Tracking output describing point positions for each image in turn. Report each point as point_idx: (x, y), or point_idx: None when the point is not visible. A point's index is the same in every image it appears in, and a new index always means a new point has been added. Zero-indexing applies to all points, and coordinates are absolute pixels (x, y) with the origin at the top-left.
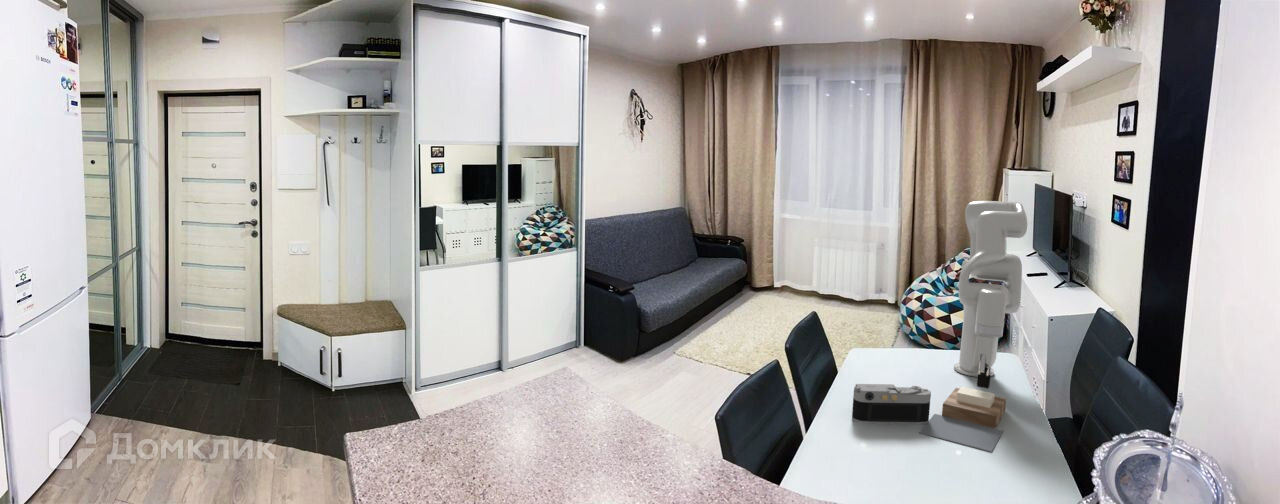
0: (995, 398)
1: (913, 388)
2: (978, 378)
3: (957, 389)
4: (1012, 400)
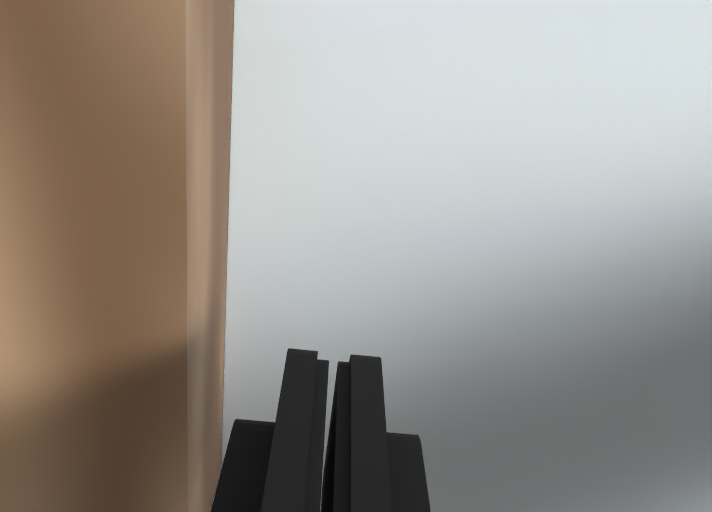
0: (107, 509)
1: None
2: (268, 464)
3: (95, 13)
4: (570, 507)
